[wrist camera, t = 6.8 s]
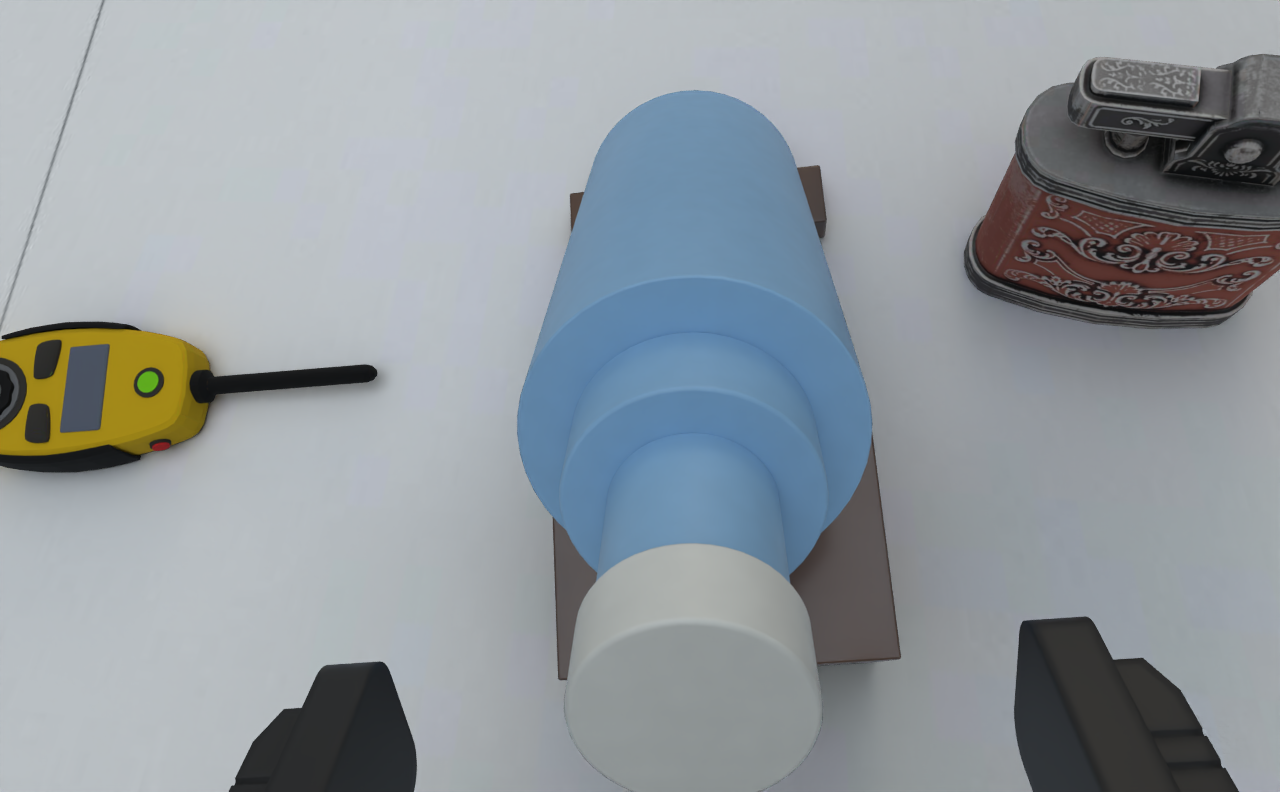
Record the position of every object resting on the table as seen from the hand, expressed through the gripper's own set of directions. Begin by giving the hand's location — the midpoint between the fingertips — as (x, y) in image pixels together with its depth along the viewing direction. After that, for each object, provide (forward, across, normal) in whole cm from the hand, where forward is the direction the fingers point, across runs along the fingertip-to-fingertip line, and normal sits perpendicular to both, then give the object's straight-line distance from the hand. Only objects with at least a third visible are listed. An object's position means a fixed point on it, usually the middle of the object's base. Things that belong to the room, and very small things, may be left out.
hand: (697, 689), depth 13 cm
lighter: (+20, -12, +4) cm, 23 cm away
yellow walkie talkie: (+19, +18, +4) cm, 26 cm away
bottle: (+17, 0, +6) cm, 18 cm away
